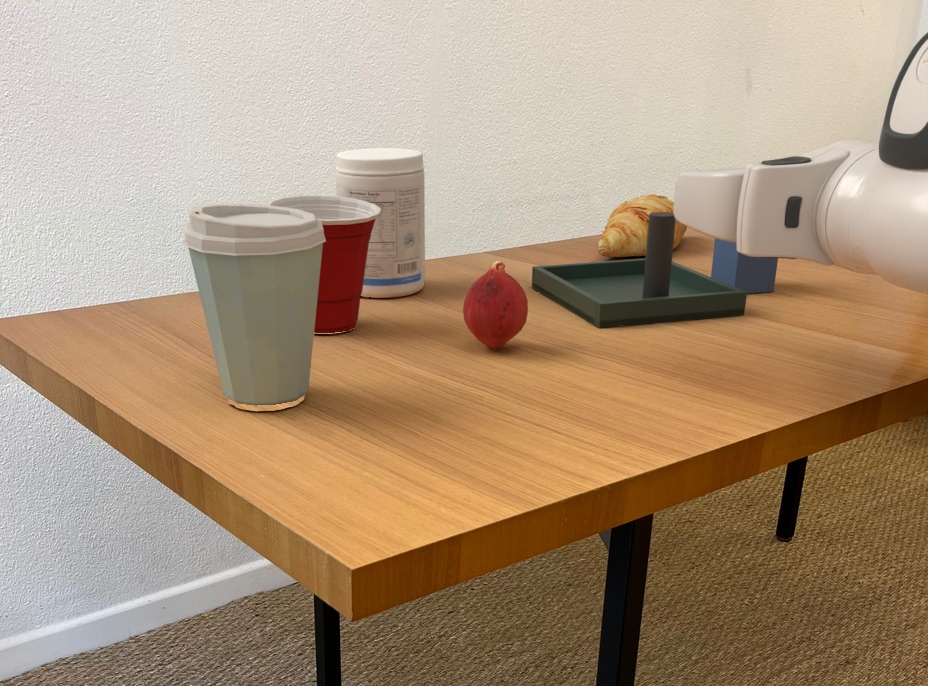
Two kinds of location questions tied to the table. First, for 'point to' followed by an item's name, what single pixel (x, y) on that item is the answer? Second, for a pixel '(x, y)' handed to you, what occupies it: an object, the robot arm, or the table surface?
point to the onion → (495, 307)
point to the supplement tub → (389, 216)
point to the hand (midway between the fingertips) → (750, 179)
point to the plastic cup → (338, 256)
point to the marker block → (743, 268)
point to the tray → (639, 286)
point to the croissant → (634, 227)
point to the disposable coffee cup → (258, 296)
